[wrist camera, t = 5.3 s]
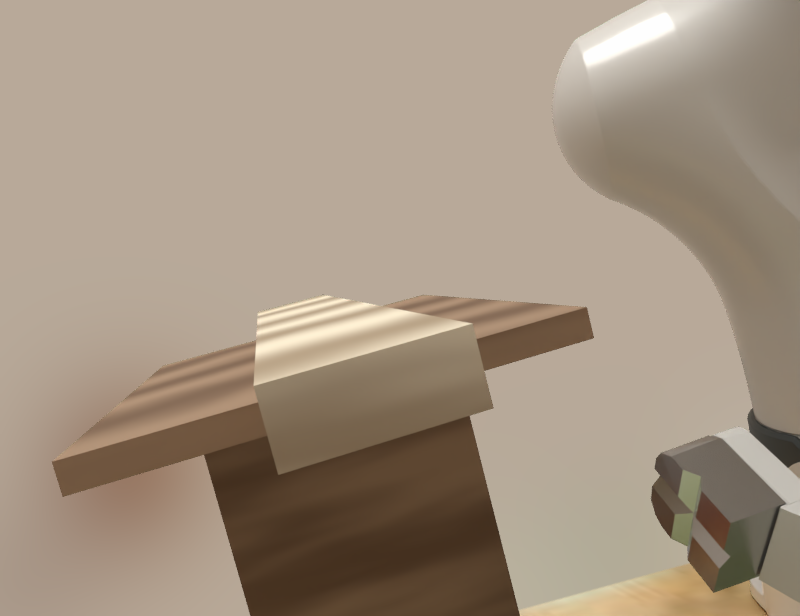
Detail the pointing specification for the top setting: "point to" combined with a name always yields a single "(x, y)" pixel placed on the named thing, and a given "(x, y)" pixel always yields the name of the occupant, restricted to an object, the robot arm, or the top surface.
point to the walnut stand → (334, 481)
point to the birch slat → (359, 376)
